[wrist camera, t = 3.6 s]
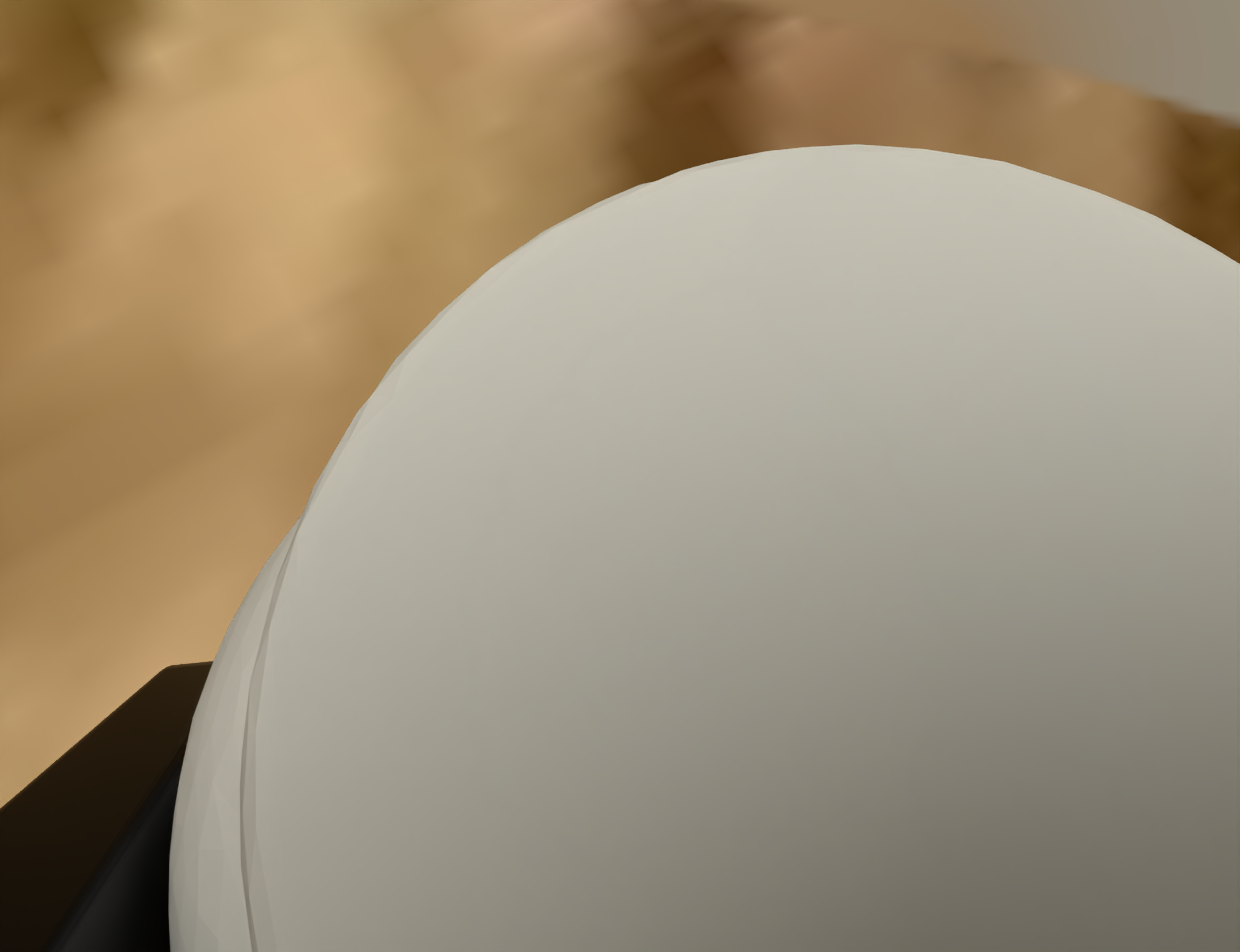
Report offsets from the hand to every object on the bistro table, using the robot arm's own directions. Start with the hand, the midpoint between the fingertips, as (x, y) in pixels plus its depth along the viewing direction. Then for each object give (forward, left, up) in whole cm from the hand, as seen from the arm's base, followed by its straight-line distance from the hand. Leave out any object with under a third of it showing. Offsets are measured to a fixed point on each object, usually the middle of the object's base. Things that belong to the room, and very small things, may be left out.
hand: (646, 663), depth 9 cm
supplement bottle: (-1, +1, -7) cm, 7 cm away
